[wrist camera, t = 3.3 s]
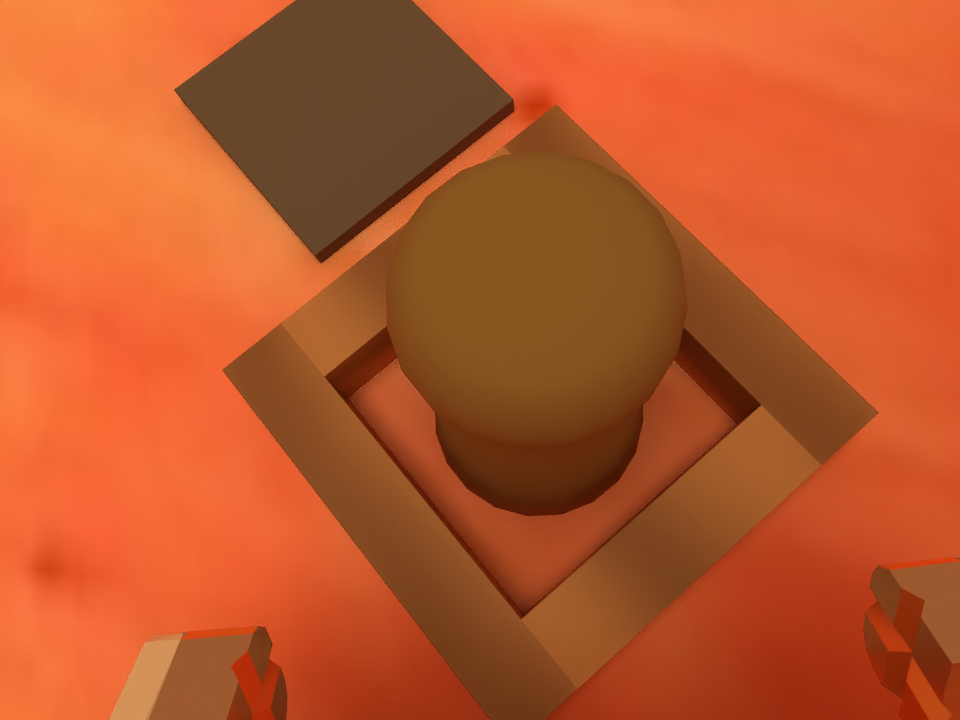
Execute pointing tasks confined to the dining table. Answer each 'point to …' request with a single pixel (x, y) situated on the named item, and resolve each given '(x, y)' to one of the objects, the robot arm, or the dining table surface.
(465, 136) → the rubber mat
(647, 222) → the cork
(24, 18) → the dining table surface
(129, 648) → the dining table surface
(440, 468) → the dining table surface
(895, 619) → the robot arm
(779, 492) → the walnut housing
